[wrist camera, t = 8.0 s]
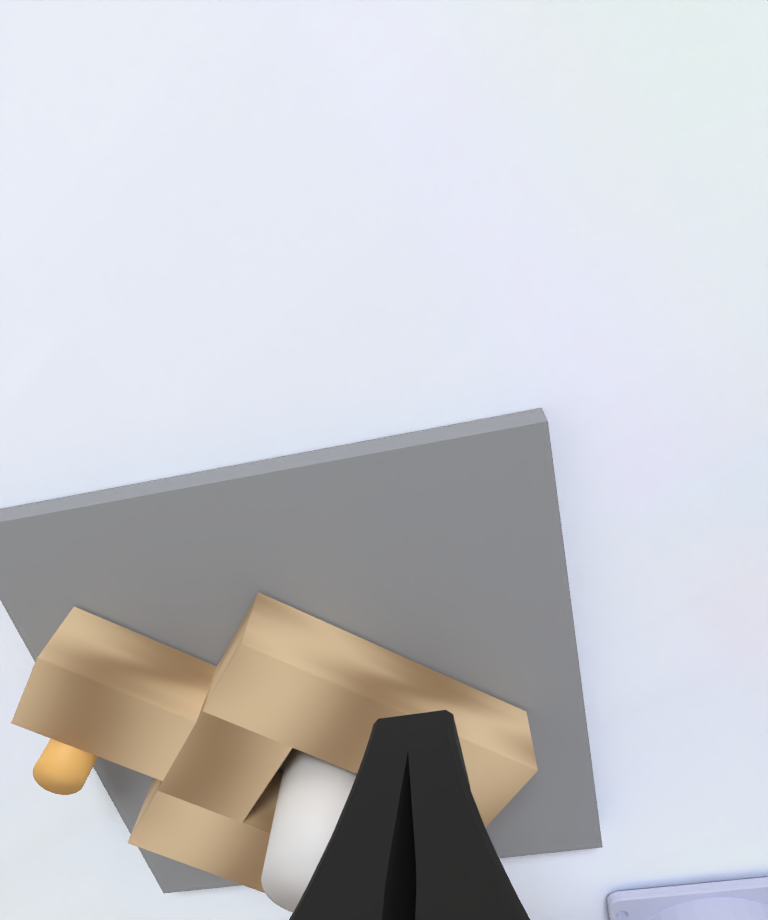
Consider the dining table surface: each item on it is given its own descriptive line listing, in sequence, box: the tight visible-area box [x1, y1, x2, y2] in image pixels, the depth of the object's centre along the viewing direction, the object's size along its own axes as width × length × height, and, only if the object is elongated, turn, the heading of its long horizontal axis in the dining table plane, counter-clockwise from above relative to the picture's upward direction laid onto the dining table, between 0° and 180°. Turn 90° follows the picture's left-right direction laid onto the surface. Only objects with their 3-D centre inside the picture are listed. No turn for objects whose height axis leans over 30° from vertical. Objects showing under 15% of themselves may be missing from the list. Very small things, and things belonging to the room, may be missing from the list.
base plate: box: [0, 408, 602, 912], centre depth 22 cm, size 18×18×6 cm
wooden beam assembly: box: [11, 592, 538, 893], centre depth 23 cm, size 15×10×2 cm, turn 62°
